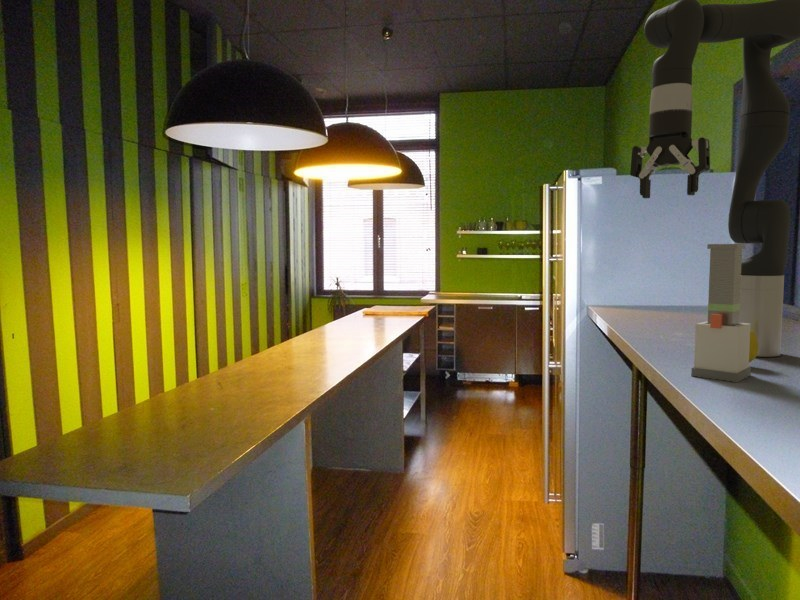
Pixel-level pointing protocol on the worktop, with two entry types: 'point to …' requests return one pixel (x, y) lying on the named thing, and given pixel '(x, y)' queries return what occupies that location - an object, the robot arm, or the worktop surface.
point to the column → (725, 282)
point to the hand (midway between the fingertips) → (667, 196)
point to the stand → (722, 350)
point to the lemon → (753, 346)
